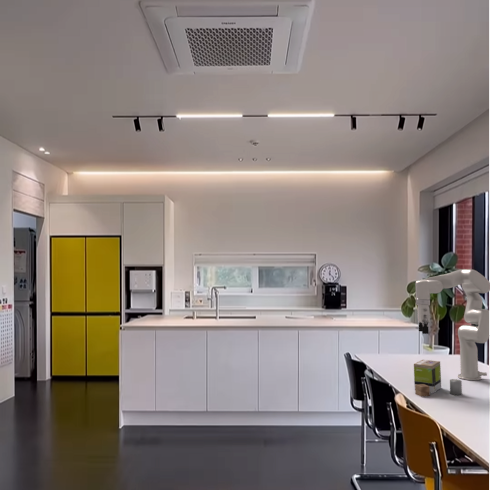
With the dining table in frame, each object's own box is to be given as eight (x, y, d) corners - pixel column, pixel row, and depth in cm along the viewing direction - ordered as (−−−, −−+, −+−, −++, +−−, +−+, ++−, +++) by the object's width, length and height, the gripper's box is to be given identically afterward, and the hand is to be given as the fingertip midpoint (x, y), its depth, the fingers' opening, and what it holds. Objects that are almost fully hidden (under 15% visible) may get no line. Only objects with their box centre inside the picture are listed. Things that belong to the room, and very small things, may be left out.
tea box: (423, 385, 260) (422, 358, 261) (441, 388, 253) (441, 361, 254) (414, 390, 248) (413, 363, 249) (433, 393, 242) (432, 365, 243)
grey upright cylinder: (459, 392, 244) (459, 379, 244) (463, 395, 238) (463, 381, 239) (448, 392, 245) (448, 379, 245) (452, 395, 239) (451, 381, 239)
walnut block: (423, 393, 243) (423, 384, 243) (429, 396, 238) (429, 386, 238) (415, 394, 241) (415, 384, 242) (421, 396, 237) (420, 386, 237)
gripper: (433, 303, 253) (434, 334, 252) (426, 301, 270) (427, 330, 269) (419, 303, 254) (419, 334, 254) (413, 301, 272) (413, 330, 271)
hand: (423, 332), depth 261 cm, fingers open, 9 cm apart
